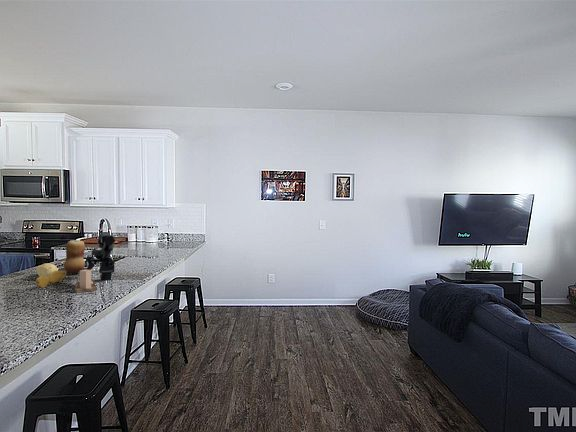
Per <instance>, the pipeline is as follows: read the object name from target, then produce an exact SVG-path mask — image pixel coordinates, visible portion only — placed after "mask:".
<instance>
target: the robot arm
mask: <svg viewBox="0 0 576 432" xmlns="http://www.w3.org/2000/svg"><path fill="white" fill-rule="evenodd" d="M115 242H116V239H115V237H114V236H113V235H112V234H111V235H110V232H108V231H102V232H100V234H99V236H97V245H98V247H99V248H100V249H92V250H91V254H90V255H91V256H86V257H85V259H84V261H86V262H87V269H86V270H91V271H92V269H93V268H95V267H96V264H98V263H100V264H99V270H98V272H99V274H100V276H99V277H100V278H99V280H100V281H101V282H107V281H112V278H113V277H112V274H113V273H115V267H116V266H115V263H116V262H115V260H114V259H113V258H112V257H111V253H112V252H113V249H114V244H115ZM94 257H95V258H94Z"/></svg>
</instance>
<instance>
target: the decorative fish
mask: <svg viewBox="0 0 576 432" xmlns="http://www.w3.org/2000/svg"><path fill="white" fill-rule="evenodd" d="M67 273H68V272H67V271H66V270H60V271H59V270H58V271H54V272H53V273H52V274H51V275H50V276H48V277H39V276H38V277H37V278H36V279H35V285H36V286H37V287H39V288H41V289H43V288H45V287H47V286H48V285H51V284H54V283H57V282H59V283H60V282H62V280H63V278H64V277H66V275H67Z"/></svg>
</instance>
